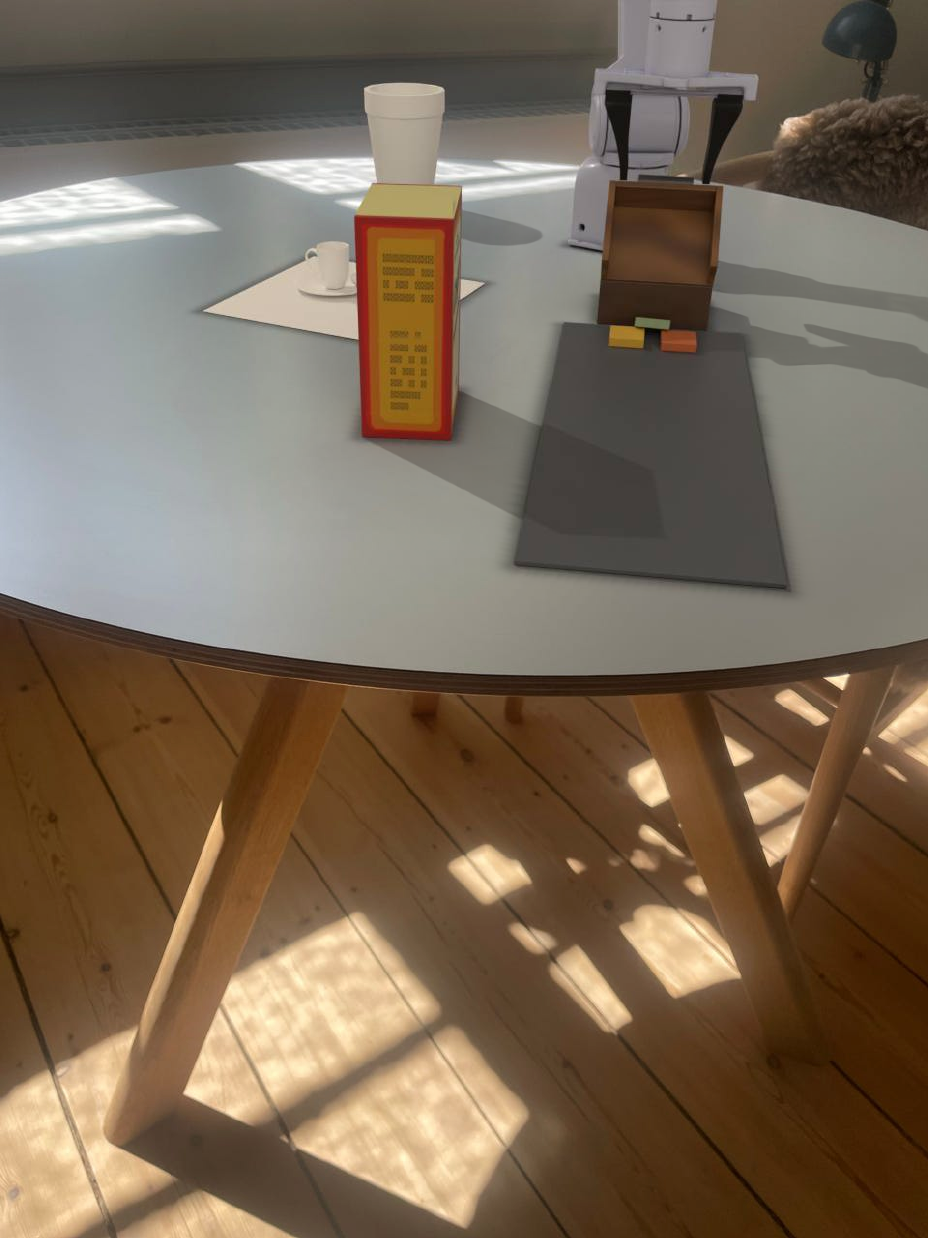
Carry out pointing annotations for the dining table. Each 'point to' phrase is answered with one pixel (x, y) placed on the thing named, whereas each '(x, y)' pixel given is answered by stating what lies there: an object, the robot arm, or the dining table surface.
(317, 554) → the dining table surface
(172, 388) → the dining table surface
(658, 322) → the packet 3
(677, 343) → the packet
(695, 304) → the brown wooden box panel
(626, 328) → the packet
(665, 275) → the tray
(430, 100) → the foam cup
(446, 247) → the baking soda box
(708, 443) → the mat
